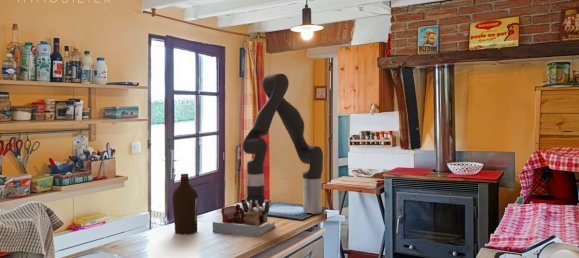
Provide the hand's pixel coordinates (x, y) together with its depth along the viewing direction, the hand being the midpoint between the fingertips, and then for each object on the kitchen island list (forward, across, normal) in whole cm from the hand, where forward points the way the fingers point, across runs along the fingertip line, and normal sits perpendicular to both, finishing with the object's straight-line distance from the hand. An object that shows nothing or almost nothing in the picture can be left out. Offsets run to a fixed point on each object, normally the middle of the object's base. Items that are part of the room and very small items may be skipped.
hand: (256, 222), depth 200 cm
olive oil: (+3, +27, +14) cm, 30 cm away
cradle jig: (+3, +6, +1) cm, 6 cm away
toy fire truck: (+3, +10, +2) cm, 11 cm away
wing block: (+1, 0, 0) cm, 1 cm away
